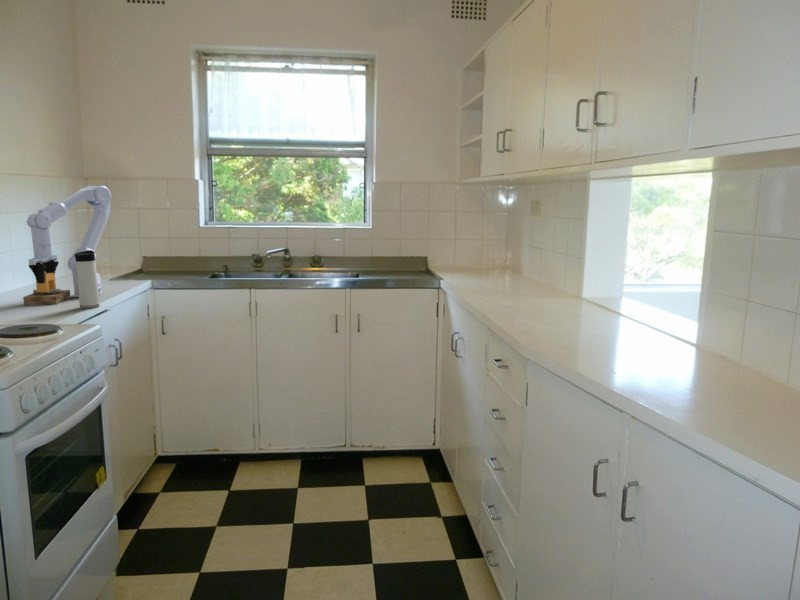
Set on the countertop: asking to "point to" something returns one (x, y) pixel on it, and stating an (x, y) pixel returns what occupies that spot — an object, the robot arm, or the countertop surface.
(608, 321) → the countertop surface
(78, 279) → the travel mug
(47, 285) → the orange notched block
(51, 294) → the square wooden frame
